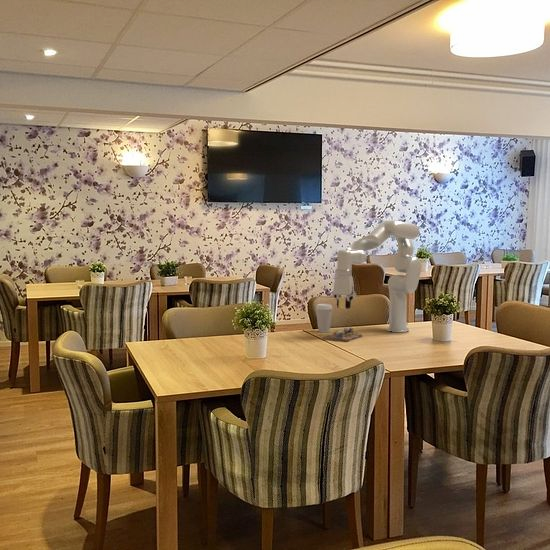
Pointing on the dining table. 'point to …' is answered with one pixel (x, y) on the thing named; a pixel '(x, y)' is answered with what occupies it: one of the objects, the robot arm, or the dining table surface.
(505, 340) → the dining table surface
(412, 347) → the dining table surface
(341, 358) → the dining table surface
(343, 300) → the coupler
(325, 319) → the coffee cup
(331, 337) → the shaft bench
